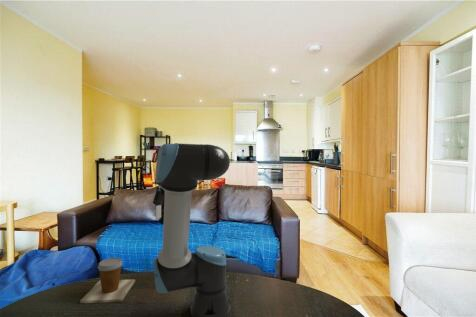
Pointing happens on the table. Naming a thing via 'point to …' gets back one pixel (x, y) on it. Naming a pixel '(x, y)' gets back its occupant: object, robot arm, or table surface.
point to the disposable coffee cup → (110, 274)
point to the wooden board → (117, 296)
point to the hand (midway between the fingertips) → (165, 220)
